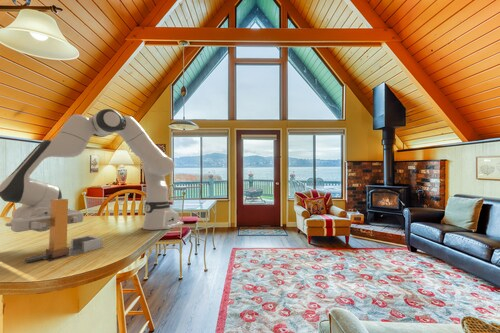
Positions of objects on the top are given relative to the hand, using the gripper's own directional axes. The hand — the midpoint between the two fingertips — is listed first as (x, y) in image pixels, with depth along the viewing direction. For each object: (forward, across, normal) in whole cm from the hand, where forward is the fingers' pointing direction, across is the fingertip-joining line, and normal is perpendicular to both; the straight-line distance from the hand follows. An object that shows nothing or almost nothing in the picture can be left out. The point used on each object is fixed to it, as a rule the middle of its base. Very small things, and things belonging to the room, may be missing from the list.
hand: (60, 223), depth 82 cm
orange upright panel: (-1, -3, +11) cm, 11 cm away
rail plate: (-1, +4, +12) cm, 13 cm away
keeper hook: (-1, +8, +11) cm, 14 cm away
